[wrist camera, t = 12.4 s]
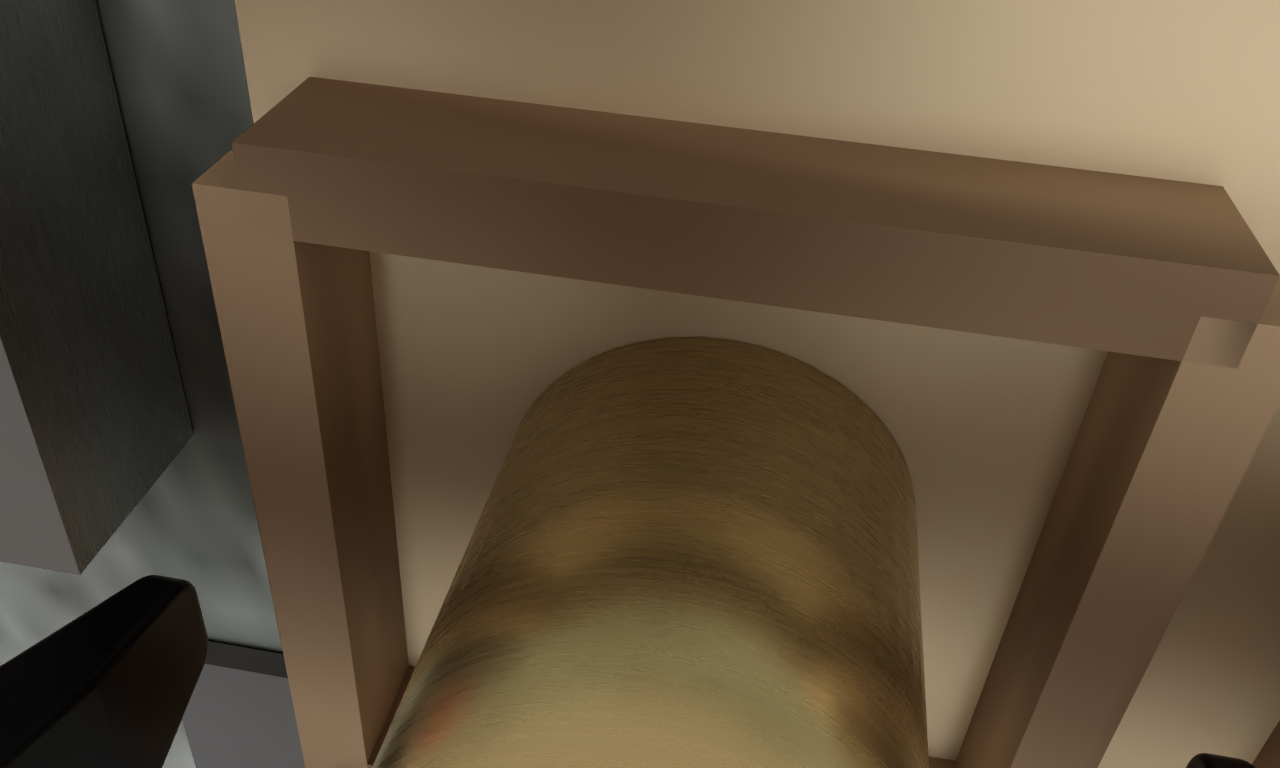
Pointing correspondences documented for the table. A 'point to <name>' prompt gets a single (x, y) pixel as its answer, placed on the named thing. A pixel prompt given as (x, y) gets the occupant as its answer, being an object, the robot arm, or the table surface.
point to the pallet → (786, 317)
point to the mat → (243, 711)
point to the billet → (682, 580)
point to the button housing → (74, 299)
